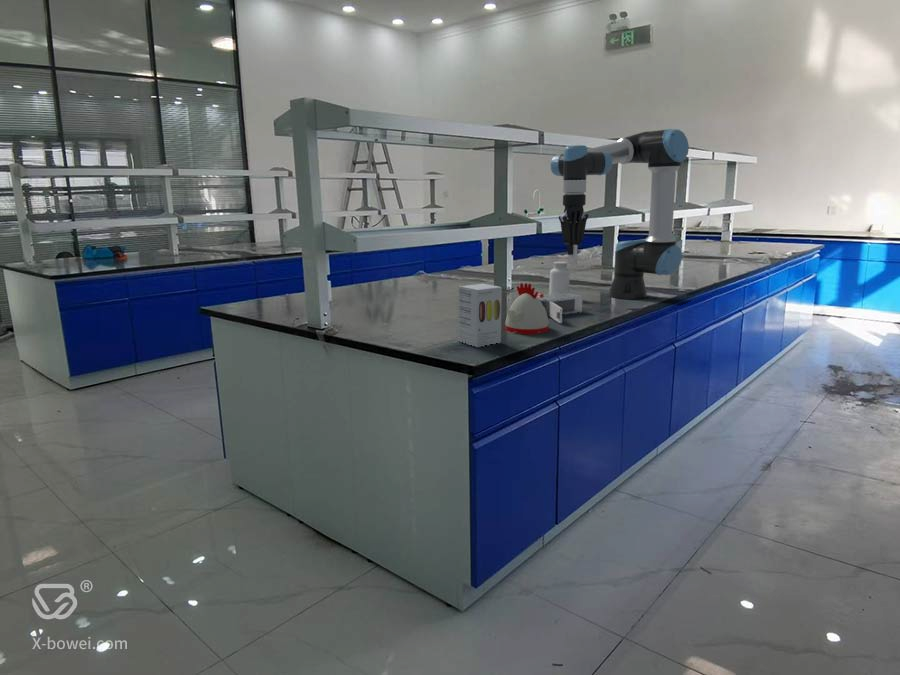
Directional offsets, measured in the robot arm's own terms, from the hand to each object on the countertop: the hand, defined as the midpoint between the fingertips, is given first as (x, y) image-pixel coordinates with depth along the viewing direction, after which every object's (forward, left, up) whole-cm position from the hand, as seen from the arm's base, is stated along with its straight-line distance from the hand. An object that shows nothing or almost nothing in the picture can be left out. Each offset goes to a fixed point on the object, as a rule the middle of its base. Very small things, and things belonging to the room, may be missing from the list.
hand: (572, 263), depth 209 cm
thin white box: (+8, +2, -19) cm, 20 cm away
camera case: (+1, -9, -19) cm, 21 cm away
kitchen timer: (+24, +8, -19) cm, 32 cm away
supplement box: (+46, +15, -19) cm, 52 cm away
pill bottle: (-19, -30, -19) cm, 40 cm away
